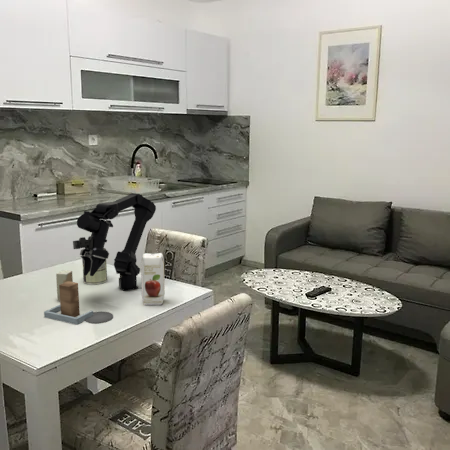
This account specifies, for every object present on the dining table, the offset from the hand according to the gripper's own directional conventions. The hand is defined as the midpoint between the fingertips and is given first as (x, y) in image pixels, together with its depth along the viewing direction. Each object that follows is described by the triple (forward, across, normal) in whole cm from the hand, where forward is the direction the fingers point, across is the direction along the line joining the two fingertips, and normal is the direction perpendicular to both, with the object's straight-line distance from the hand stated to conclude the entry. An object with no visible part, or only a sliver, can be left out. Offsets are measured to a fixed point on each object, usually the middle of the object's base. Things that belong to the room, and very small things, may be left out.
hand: (88, 275), depth 182 cm
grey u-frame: (+15, +4, -3) cm, 16 cm away
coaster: (+14, +10, +5) cm, 18 cm away
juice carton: (+5, +6, +26) cm, 27 cm away
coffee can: (+1, -30, +11) cm, 32 cm away
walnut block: (+15, +4, -3) cm, 16 cm away
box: (+11, -14, -2) cm, 18 cm away
